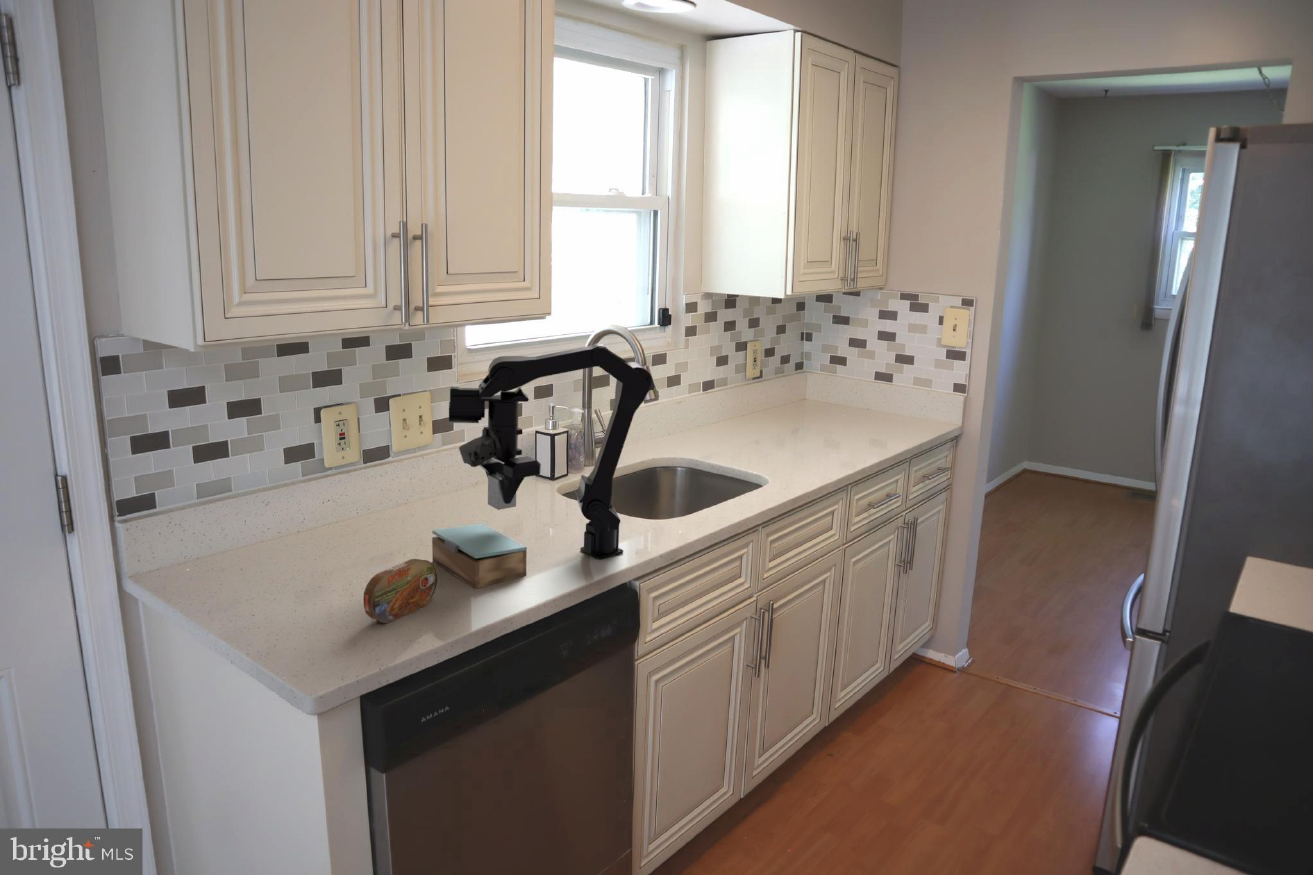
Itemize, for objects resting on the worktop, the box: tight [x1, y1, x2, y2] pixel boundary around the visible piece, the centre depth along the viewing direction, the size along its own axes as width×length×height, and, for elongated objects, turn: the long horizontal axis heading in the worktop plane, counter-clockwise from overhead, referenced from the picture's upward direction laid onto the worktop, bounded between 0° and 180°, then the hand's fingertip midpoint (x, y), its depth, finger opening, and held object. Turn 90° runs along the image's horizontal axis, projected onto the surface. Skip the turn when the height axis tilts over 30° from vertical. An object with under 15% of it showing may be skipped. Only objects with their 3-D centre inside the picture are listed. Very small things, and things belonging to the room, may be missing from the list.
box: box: [431, 535, 528, 589], centre depth 176 cm, size 11×16×5 cm
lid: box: [431, 523, 528, 558], centre depth 175 cm, size 12×16×1 cm
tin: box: [363, 558, 439, 624], centre depth 156 cm, size 15×3×8 cm, turn 150°
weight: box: [487, 474, 517, 511], centre depth 180 cm, size 4×4×6 cm
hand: (501, 500), depth 180 cm, fingers closed on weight, 4 cm apart
